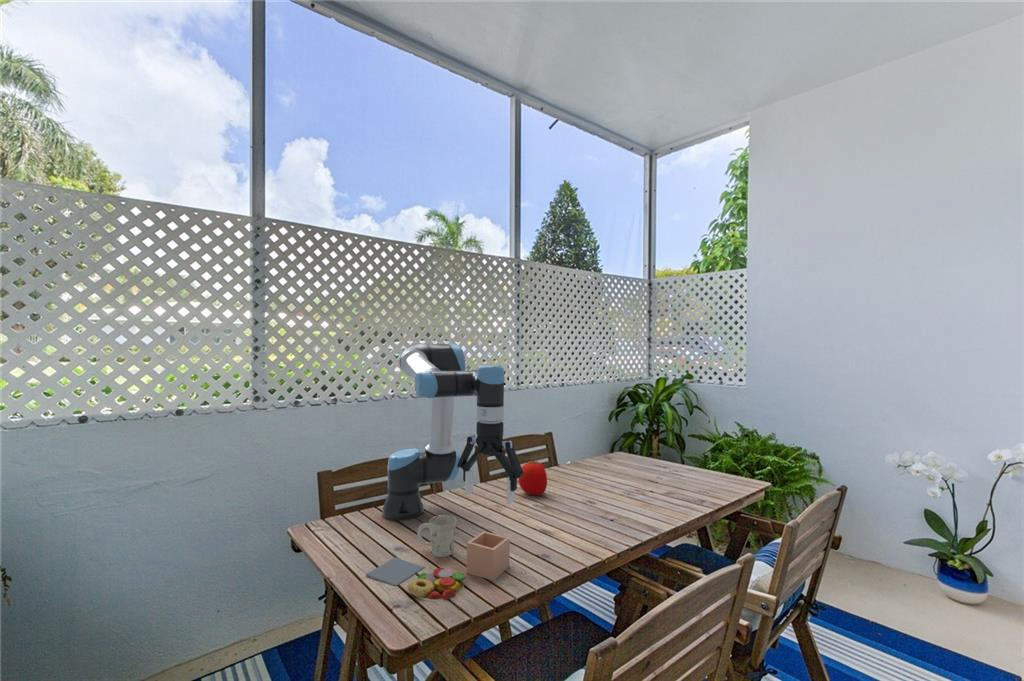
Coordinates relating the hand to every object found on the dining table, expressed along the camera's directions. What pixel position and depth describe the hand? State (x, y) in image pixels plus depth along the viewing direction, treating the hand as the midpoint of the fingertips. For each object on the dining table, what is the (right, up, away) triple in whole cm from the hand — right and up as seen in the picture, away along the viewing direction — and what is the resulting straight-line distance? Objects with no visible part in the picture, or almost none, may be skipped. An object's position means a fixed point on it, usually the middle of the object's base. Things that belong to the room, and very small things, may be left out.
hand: (489, 497), depth 122 cm
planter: (0, -21, 0) cm, 21 cm away
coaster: (-26, -20, -1) cm, 33 cm away
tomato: (+15, -22, +64) cm, 69 cm away
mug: (-17, -21, +11) cm, 29 cm away
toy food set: (-13, -21, -9) cm, 26 cm away
